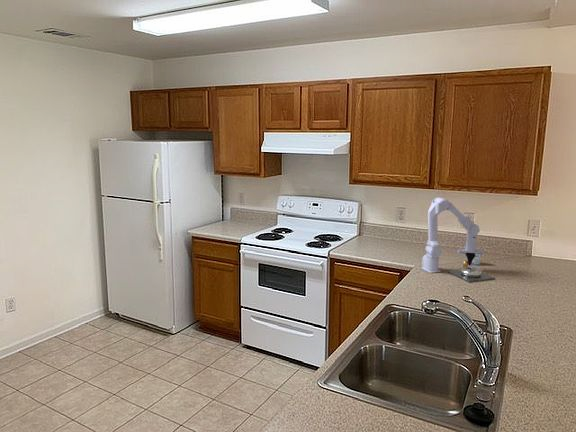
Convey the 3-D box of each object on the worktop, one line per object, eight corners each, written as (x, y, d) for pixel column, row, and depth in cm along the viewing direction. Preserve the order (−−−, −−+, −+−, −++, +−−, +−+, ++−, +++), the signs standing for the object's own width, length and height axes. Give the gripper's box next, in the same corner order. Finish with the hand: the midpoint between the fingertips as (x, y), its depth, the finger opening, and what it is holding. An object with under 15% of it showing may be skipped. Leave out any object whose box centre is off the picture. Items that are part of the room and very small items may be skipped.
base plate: (447, 272, 261) (447, 270, 261) (472, 269, 267) (472, 268, 266) (469, 282, 244) (469, 280, 244) (495, 279, 250) (495, 277, 250)
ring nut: (484, 277, 249) (484, 270, 248) (464, 276, 250) (464, 269, 249) (473, 267, 267) (474, 260, 266) (455, 267, 267) (455, 260, 267)
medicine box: (465, 263, 279) (466, 250, 277) (466, 262, 282) (467, 249, 281) (479, 265, 275) (480, 252, 273) (479, 263, 279) (481, 250, 277)
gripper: (481, 242, 265) (479, 263, 268) (456, 241, 267) (455, 262, 270) (485, 245, 259) (483, 267, 261) (460, 244, 260) (458, 266, 263)
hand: (469, 265), depth 265 cm, fingers closed
